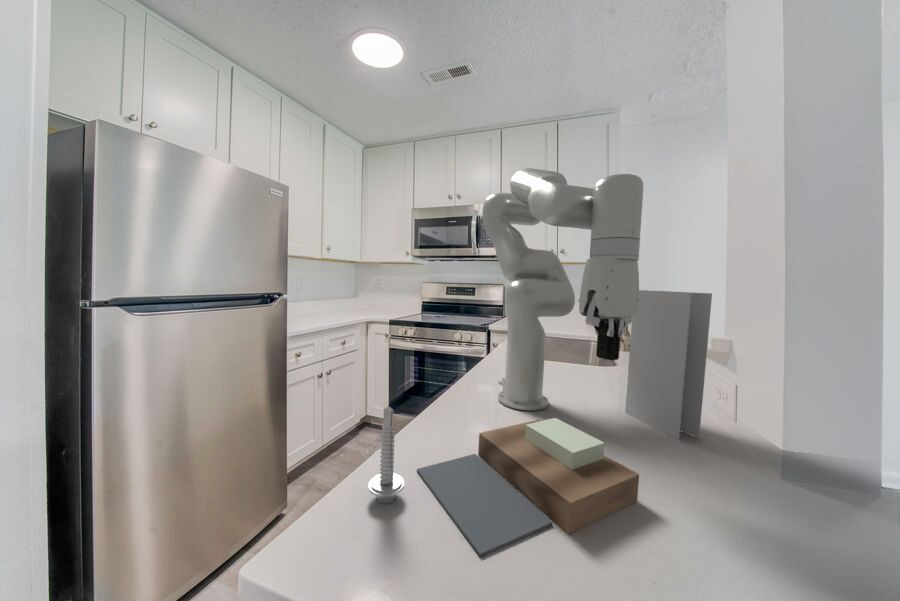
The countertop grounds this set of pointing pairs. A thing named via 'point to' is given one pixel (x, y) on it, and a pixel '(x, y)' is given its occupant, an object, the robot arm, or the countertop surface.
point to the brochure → (669, 360)
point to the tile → (564, 442)
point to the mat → (482, 503)
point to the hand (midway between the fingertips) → (607, 358)
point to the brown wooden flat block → (559, 479)
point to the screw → (386, 464)
